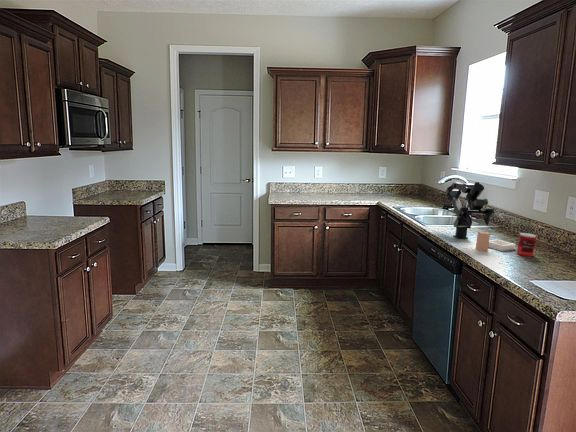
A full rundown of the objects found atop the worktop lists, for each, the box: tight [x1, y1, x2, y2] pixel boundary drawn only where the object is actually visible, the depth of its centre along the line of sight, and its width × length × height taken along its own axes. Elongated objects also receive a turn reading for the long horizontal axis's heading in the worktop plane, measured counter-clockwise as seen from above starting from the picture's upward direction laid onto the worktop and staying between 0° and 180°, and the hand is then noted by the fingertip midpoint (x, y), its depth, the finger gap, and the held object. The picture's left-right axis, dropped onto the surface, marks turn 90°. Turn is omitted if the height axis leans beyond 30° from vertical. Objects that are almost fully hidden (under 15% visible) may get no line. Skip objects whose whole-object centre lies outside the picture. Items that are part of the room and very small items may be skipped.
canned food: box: [516, 232, 537, 258], centre depth 221 cm, size 8×8×11 cm
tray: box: [488, 239, 517, 252], centre depth 234 cm, size 11×11×3 cm
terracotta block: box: [475, 231, 491, 252], centre depth 227 cm, size 4×4×10 cm
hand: (479, 224), depth 232 cm, fingers open, 9 cm apart
